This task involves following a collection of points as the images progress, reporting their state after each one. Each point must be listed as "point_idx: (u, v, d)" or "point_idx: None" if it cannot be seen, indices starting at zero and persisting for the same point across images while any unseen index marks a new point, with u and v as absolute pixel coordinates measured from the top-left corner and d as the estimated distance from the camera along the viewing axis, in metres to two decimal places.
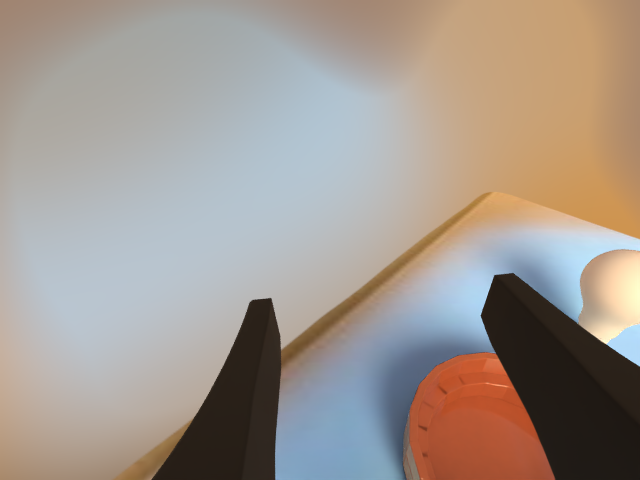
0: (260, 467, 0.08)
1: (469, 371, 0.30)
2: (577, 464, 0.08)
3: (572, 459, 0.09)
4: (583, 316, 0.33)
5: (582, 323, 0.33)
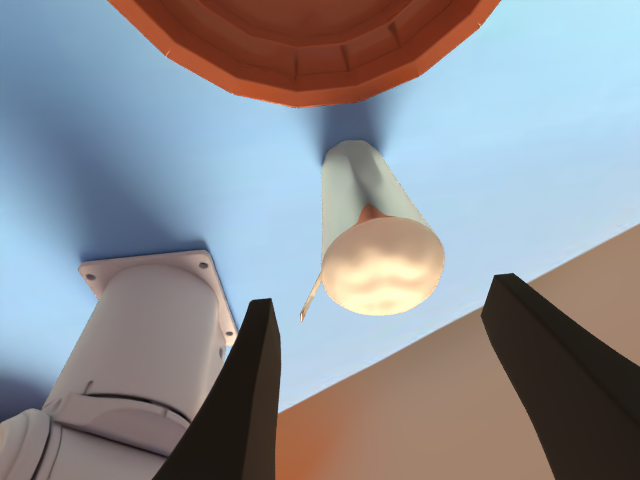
0: (260, 467, 0.08)
1: None
2: (577, 464, 0.08)
3: (572, 459, 0.09)
4: None
5: None
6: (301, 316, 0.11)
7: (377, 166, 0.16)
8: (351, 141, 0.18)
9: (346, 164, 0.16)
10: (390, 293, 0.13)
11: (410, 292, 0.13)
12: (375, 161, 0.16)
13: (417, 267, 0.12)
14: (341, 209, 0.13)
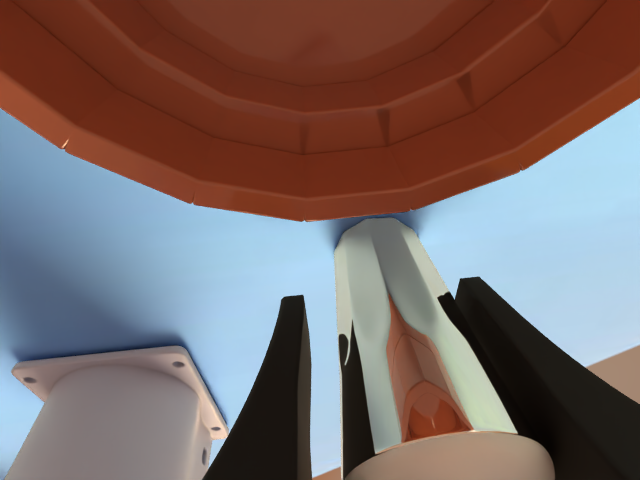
0: (304, 462, 0.08)
1: None
2: None
3: None
4: None
5: None
6: None
7: (423, 278, 0.10)
8: (377, 222, 0.13)
9: (374, 270, 0.11)
10: None
11: None
12: (418, 266, 0.11)
13: None
14: (375, 381, 0.08)
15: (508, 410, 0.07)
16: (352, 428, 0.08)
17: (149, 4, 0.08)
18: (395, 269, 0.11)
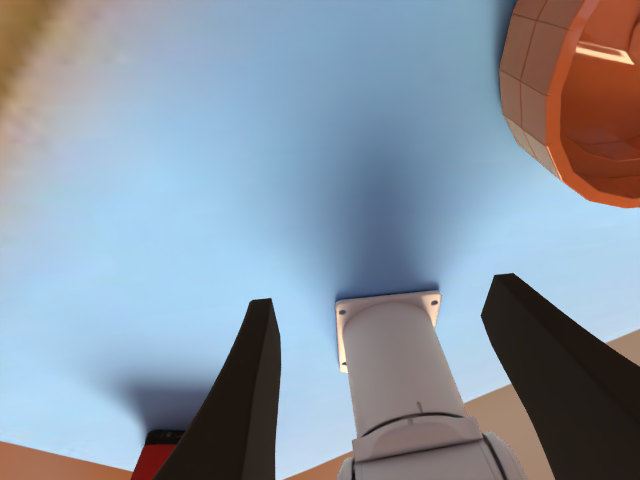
0: (260, 467, 0.08)
1: None
2: (577, 464, 0.08)
3: (572, 459, 0.09)
4: None
5: None
6: None
7: None
8: None
9: None
10: None
11: None
12: None
13: None
14: None
15: None
16: None
17: None
18: None
